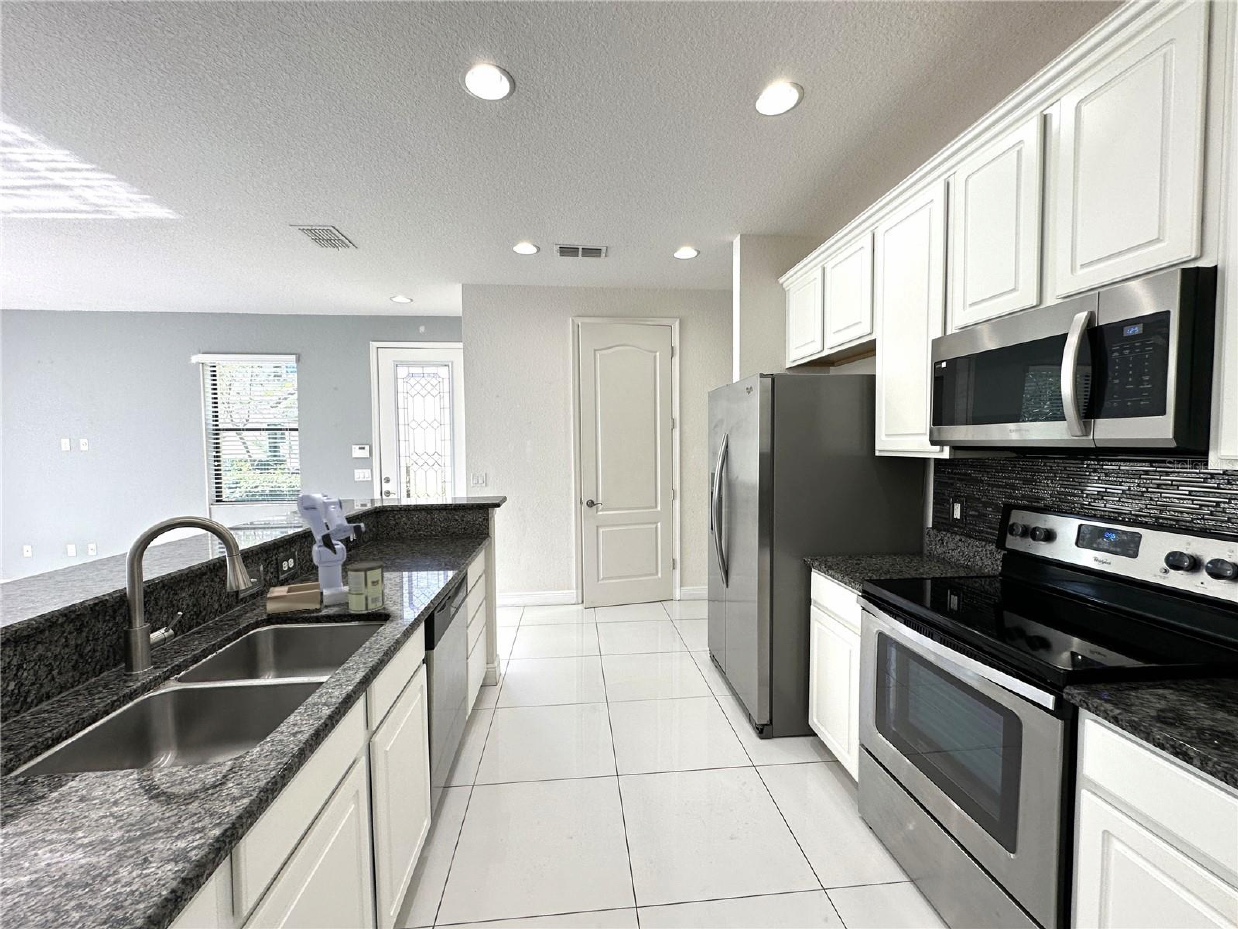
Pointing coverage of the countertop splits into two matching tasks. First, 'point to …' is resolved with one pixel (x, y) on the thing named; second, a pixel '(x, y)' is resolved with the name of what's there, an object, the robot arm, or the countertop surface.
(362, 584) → the coffee can
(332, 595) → the aluminium block
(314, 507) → the robot arm
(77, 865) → the countertop surface
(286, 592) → the wooden channel
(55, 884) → the countertop surface
